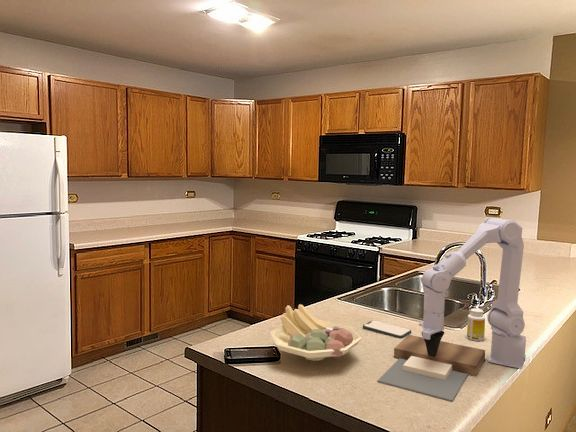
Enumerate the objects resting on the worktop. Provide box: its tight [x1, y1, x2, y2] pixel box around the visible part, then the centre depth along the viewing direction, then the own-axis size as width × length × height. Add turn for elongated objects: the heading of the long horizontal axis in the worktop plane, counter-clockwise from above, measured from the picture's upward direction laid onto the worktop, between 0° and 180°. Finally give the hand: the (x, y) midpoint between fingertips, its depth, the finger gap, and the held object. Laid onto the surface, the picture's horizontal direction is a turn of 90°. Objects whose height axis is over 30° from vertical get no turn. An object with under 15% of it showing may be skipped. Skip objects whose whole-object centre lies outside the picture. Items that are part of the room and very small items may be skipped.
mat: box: [377, 358, 469, 402], centre depth 130 cm, size 20×18×1 cm
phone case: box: [362, 320, 412, 339], centre depth 169 cm, size 9×2×16 cm
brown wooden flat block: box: [393, 334, 486, 377], centre depth 144 cm, size 24×14×3 cm, turn 57°
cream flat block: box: [403, 356, 452, 380], centre depth 135 cm, size 12×8×2 cm, turn 58°
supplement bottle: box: [466, 307, 486, 342], centre depth 160 cm, size 6×6×10 cm
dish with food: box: [269, 303, 362, 362], centre depth 144 cm, size 28×28×14 cm
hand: (432, 355), depth 137 cm, fingers closed
